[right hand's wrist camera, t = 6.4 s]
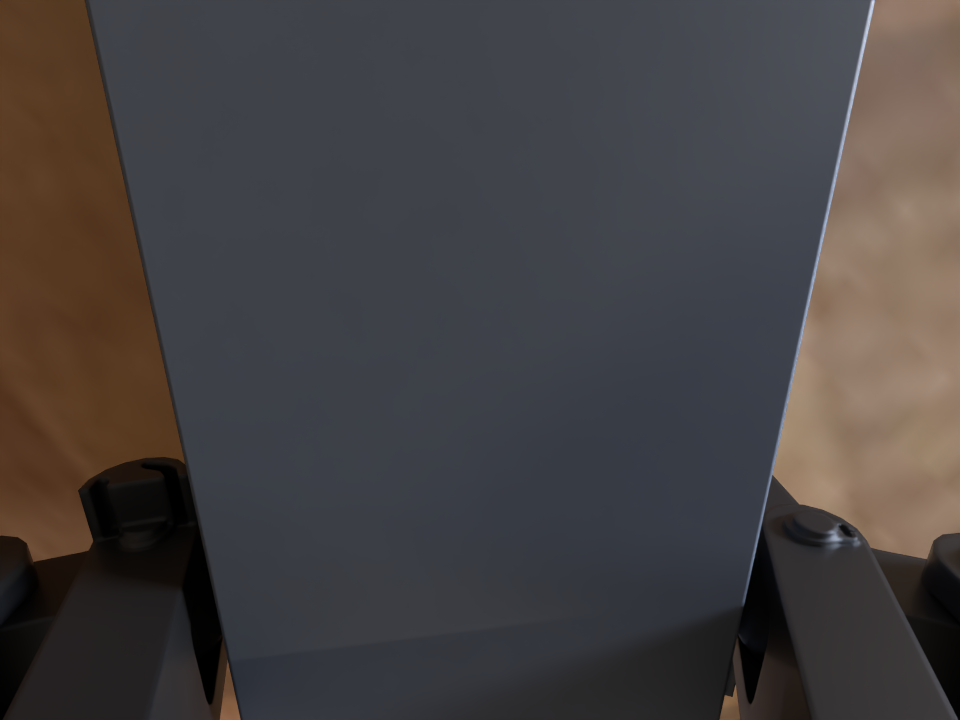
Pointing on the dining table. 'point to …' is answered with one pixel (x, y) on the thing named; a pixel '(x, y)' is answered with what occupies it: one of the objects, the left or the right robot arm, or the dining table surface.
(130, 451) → the dining table surface
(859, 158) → the dining table surface
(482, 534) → the beam
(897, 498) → the dining table surface
